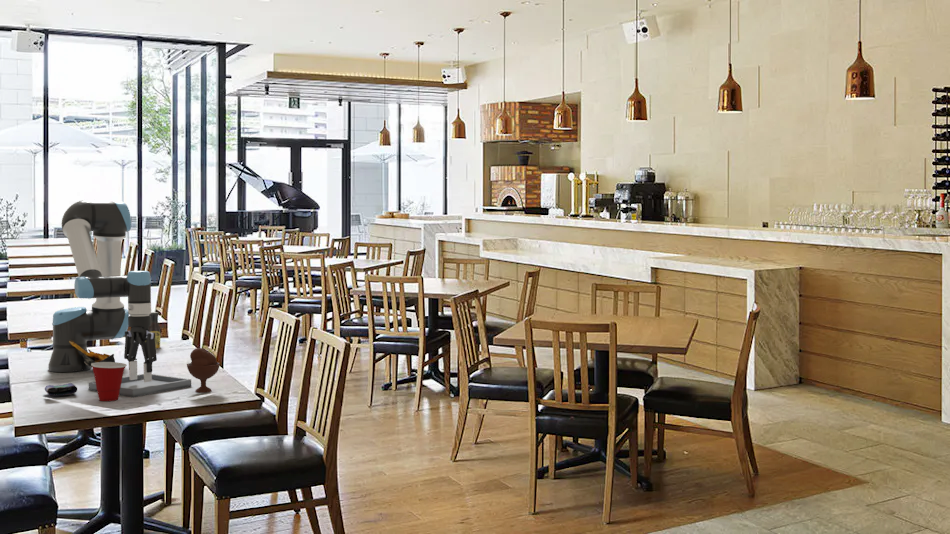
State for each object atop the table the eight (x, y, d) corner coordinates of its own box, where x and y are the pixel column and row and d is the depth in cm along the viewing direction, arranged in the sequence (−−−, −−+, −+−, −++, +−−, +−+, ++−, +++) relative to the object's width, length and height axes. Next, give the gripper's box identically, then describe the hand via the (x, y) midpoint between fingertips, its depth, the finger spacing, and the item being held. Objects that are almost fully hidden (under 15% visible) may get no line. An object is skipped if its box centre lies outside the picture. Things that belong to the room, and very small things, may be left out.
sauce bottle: (145, 359, 377) (145, 313, 376) (143, 357, 382) (143, 312, 381) (161, 358, 380) (161, 312, 379) (159, 356, 385) (159, 311, 384)
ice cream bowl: (202, 395, 296) (202, 350, 296) (180, 392, 302) (179, 348, 301) (226, 390, 305) (226, 347, 305) (204, 387, 311) (204, 345, 310)
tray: (88, 389, 305) (88, 382, 305) (147, 380, 326) (147, 373, 326) (132, 397, 293) (132, 389, 292) (191, 386, 313) (191, 379, 313)
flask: (46, 388, 290) (43, 384, 299) (47, 397, 290) (44, 393, 299) (77, 385, 294) (73, 382, 304) (78, 393, 294) (74, 390, 304)
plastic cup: (126, 401, 285) (126, 364, 284) (90, 403, 281) (89, 366, 281) (127, 395, 295) (127, 360, 295) (92, 397, 292) (92, 361, 291)
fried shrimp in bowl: (124, 365, 335) (99, 324, 333) (98, 380, 328) (72, 338, 326) (116, 368, 342) (92, 328, 340) (91, 383, 335) (65, 342, 333)
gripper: (112, 314, 310) (113, 379, 311) (149, 317, 300) (150, 384, 300) (130, 313, 317) (131, 376, 317) (167, 315, 306) (168, 381, 307)
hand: (140, 380), depth 309 cm, fingers open, 7 cm apart
